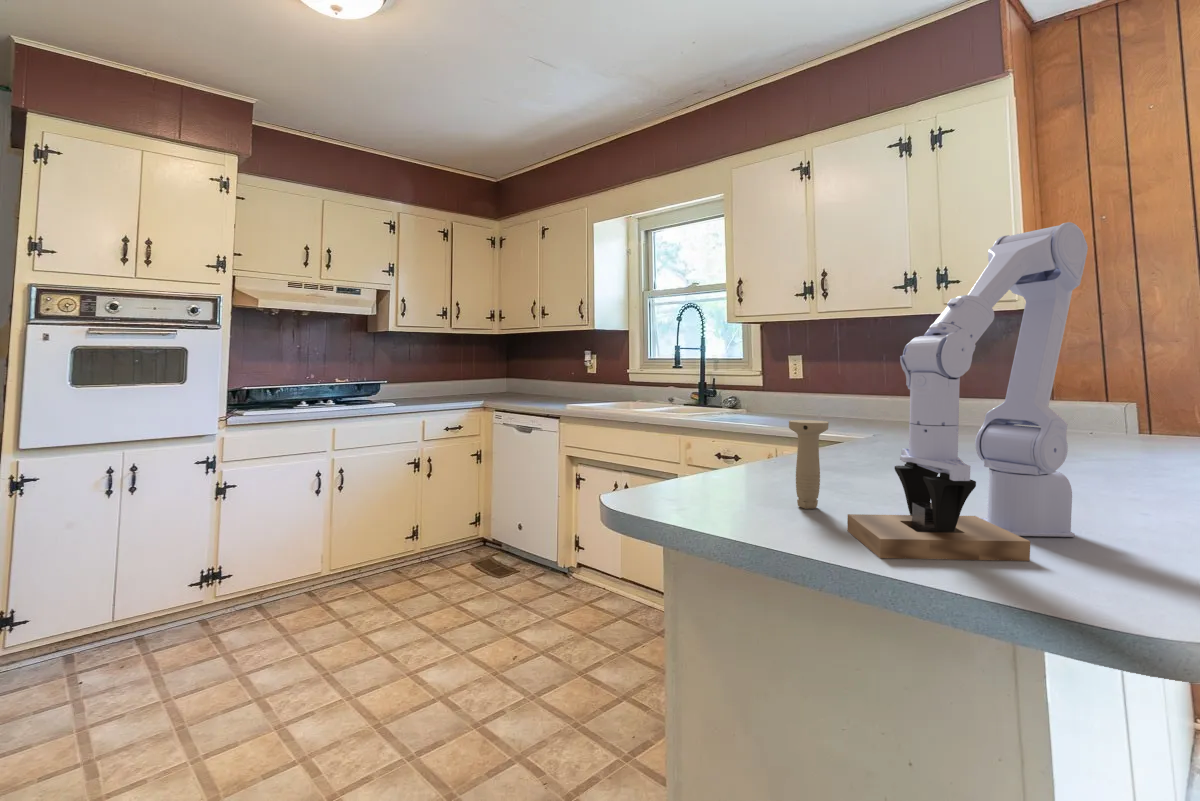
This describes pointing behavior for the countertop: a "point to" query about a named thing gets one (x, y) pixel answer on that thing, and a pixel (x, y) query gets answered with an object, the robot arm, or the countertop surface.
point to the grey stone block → (924, 518)
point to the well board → (937, 539)
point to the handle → (808, 460)
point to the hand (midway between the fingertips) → (931, 522)
